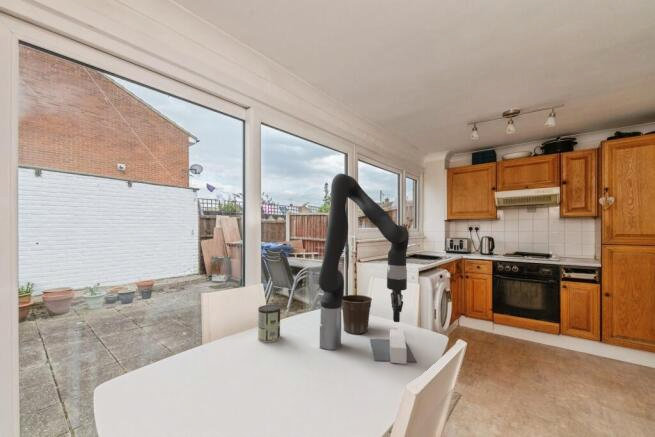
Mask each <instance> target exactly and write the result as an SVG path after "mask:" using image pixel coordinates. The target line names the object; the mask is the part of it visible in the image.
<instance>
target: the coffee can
mask: <svg viewBox="0 0 655 437" xmlns="http://www.w3.org/2000/svg"><path fill="white" fill-rule="evenodd" d="M257 312H258V314H257V315H258V319H257V321H258V322H257V323H258V324H257V326H258V327H257V328H258V329H257V340H258V341H259V342H263V343H272V342H273V343H274V342H276V341H279V340H280V339H281V306H280V305H277V304H265V305H261V306H258V308H257Z"/></svg>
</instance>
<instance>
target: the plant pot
mask: <svg viewBox="0 0 655 437" xmlns="http://www.w3.org/2000/svg"><path fill="white" fill-rule="evenodd" d="M372 301H373V298H372V297H370V296H366V295H363V294H362V295H361V294H347V295H343V300H342V306H341V311H342V319H343V320H342V321H343V331H344V332H346V333H348V334H352V335H361V334H366V333H368V331H369V322H370V321H369V320H370V311H371V307H372Z"/></svg>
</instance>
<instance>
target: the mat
mask: <svg viewBox="0 0 655 437" xmlns="http://www.w3.org/2000/svg"><path fill="white" fill-rule="evenodd" d="M369 342H370V347H371V349H372V355H373V357H374V361H375V362H388V363H389V362H390V338H389V339H387V338H386V339H385V338H383V339H382V338H370V339H369ZM405 342H406V348H407V350H406V363H413V364H416V363H417V361H418V360H416V358H415V356H414V354H413V352H412V350H411V349H410V347H409V345H408V343H407V341H406V340H405ZM390 363H391V362H390ZM417 364H418V363H417Z"/></svg>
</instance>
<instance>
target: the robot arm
mask: <svg viewBox="0 0 655 437" xmlns="http://www.w3.org/2000/svg"><path fill="white" fill-rule="evenodd" d="M330 190H331V191H330V207H329V214H328V221H327V222H328V223H327V226H326V232H325V234H326V235H325V243H324V250H323V259H322V264H321V267H320V271H319V275H318V285H319V288H320V290H321V291H322V292H323V295H322V297H321V299H320V324H319V349H324V350H328V351H329V350H331V351H332V350H337V349H340V348H341V346H342V300H343V296H344V288H345V287H344V286H345V283H344V282H345V279H344V275H343V273H342V272H341V270H339V265H340V264H339V263H340V260H341V257H342V254H343V252H344V250H345V247H346V245H347V239H348V236H349V220H348V216H347V210H346V209H347V208H346V207H347V206H346V205H347V198H348V199H350V200H351V201H352V202H354V203H355V205H357V206H358V207H359V208H360V210H361V211H362V213H363V214H364V216H365V217H366V218H367V220H369V221H370V222H371V223H372V224H373V225H374V226H375V227H376V228H377V229H378V231H379V233H381V235H382V237H384V239H385V240H387V241H388V242H390V243H391V245H390V249H389V250H388V253H387V268H386V288H387V289H388V290H391V292H390V299H391V300H390V301H391V302H390V303H391V308H392V313H393V315H392V320H393V322H394V323H400V321H401V320H400V319H401V318H400V317H401V315H400V314H401V313H402V310H403V306H404V300H403V298H404V296H403V294H402V291H406V290H407V289H408V286H407V285H408V270H407V253H408V252H407V251H408V247H409V246H408V245H409V240H410V235H409V230H408V229H407V228H406V226H404V225H399V224H398V225H397V223H396V222H394V220H392V217H391V215H390V214H389V213H388V212H387V211H385V209H384V208H383V207H381V206H380V204H378V203H377V202H376V201H374V200H373V198H371V197H370V196H369V195H368V194H367V193H366V191H365V190H364V189H363V188H362V187H361V186H360V184H359V183H358V181H357V180H356V179H355V178H354V177H352V176H350V175H349V174H345V173H338V174H336V175H335V176H334V177H333V178H332V181H331V186H330Z"/></svg>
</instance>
